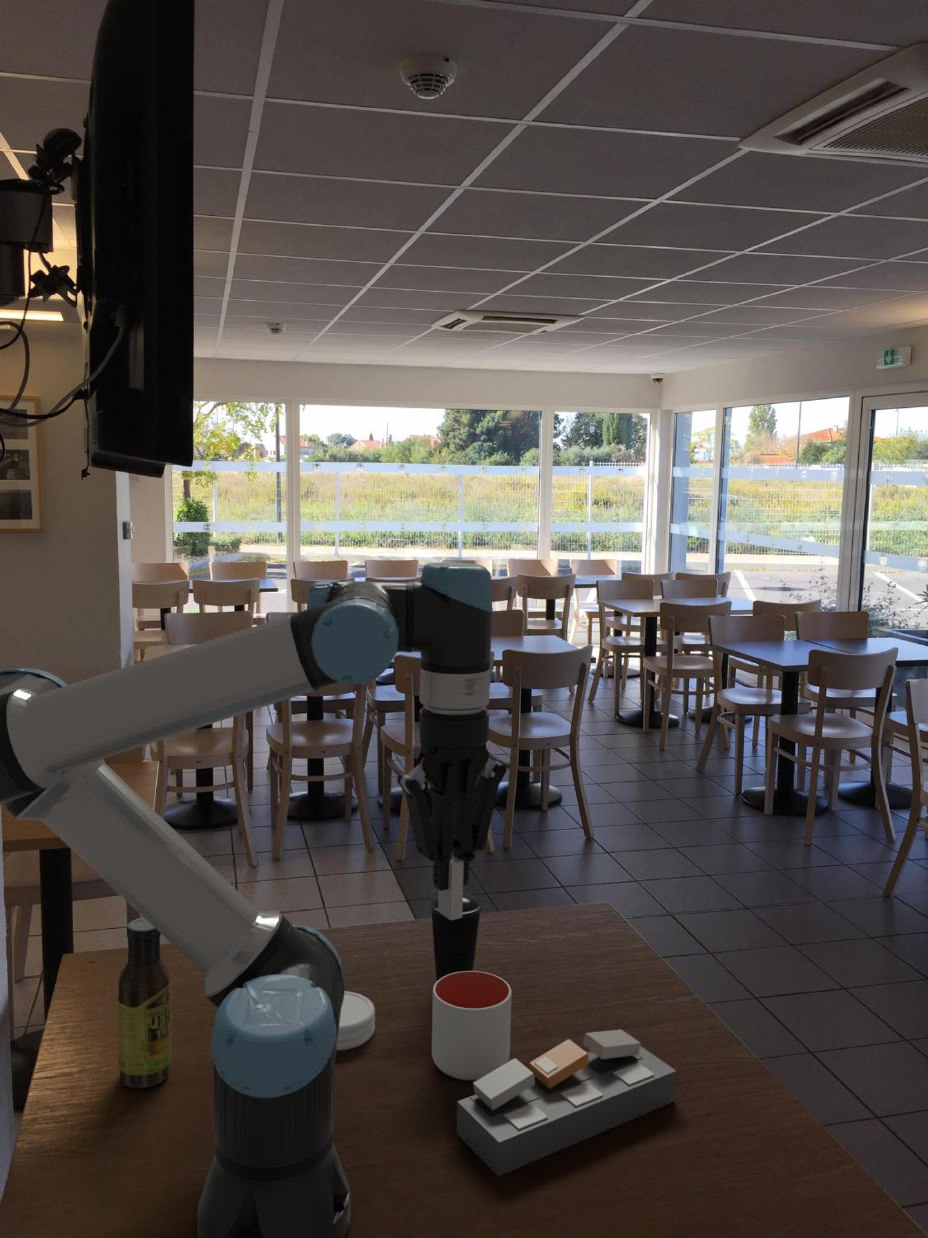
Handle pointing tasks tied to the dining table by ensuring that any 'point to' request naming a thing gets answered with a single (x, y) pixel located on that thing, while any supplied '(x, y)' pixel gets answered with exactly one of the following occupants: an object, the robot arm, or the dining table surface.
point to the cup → (471, 1024)
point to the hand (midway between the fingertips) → (450, 914)
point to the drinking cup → (455, 937)
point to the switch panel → (565, 1110)
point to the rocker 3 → (611, 1044)
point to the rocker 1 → (504, 1084)
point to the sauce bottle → (144, 1010)
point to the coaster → (355, 1021)
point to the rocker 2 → (559, 1063)
